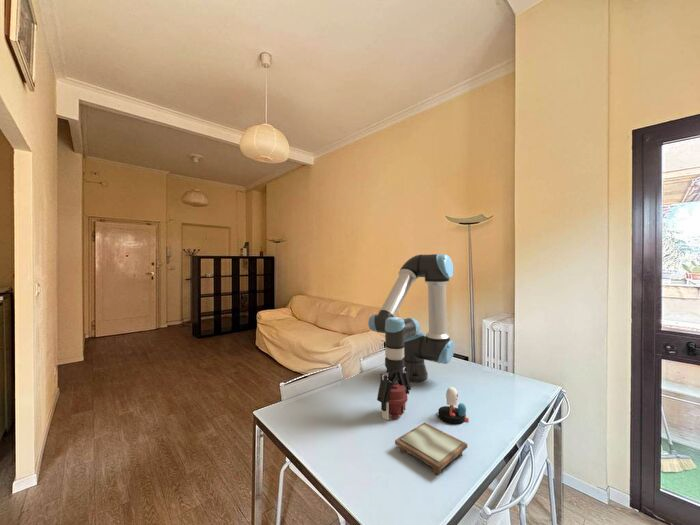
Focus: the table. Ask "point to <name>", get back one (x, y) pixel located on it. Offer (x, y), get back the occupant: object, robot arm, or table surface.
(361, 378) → the table surface
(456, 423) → the figurine
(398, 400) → the mechanical component
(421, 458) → the stand
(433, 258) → the robot arm
